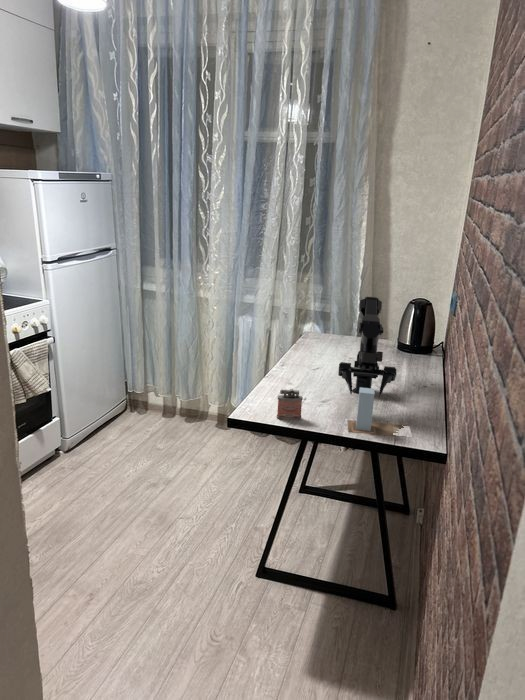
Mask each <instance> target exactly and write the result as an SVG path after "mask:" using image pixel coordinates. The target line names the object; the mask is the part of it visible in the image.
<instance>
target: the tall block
mask: <svg viewBox="0 0 525 700" xmlns="http://www.w3.org/2000/svg"><path fill="white" fill-rule="evenodd" d="M357 400H358V401H357V409H356V411H357V412H356V420H355V421H356V430H365V431H371V422H373V412H374V411H373V410H374V401H375V388H372V387H371V388H361V387H360V389H359V393H358V399H357Z"/></svg>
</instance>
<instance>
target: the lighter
mask: <svg viewBox="0 0 525 700" xmlns="http://www.w3.org/2000/svg"><path fill="white" fill-rule="evenodd" d="M279 391H280V392H279V395H278V396H277V414H276V419H277V420H279V421H300V420H302V405H303V396H302V395H300V390H297V389H296V390H294V389H293V388H290V389H280V390H279Z"/></svg>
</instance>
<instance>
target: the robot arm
mask: <svg viewBox="0 0 525 700" xmlns="http://www.w3.org/2000/svg"><path fill="white" fill-rule="evenodd" d="M382 304H383V302H382V301H381V300H379V297H376V296H365V297H364V298H362V299H361V300H359V306H358V307H359V309H358V312H359V313H360V319H361V321H360V322H359V326H358V334H360V336H361V337H360V345H359V350H358V353H357V355H356V360H354V364H353V366H352V362H346V361H345V362H344V361H342V362H339V364H338V374H337V375H338V376H339V377H341V379H343V380H345V382H346V384H347V386H348V387H347V388H348V391H349V394H350V395H352V393H357V394H359V389H360V387H361V388H371V389H372V384H373V379H375V380H376V379H377V378H378V377H379V376H381V382H380V387H379V393H378V398H381V397H382V394H383V391H384V388H386V385H387V384H391V382H394V381H395V380H396V377H397V372H398V371H397V368H396V366H388V365H384V366H383V369H380V366H379V364H378V363H379V362H380V363H382V362H383V354H384V352H383V351H378V343H379V340H380V339H379V338H380V336H381V335H382V334H384V327H383V325H382V323H381V318H379V316H380V315H379V314H381V313H382V306H383V305H382ZM352 377H354V378H356V379H355V381H356V382H355V388H353V382H352V381H353V380H352V379H353V378H352Z"/></svg>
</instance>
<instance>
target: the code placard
mask: <svg viewBox="0 0 525 700" xmlns="http://www.w3.org/2000/svg"><path fill="white" fill-rule="evenodd" d="M346 421H347V432H348V433H353V434H365V435H377V436H378V435H379V436H389V437H395V436H394V435H393V433H398V432H396V431H399V430H398V429H401V428H404V427H403V426H407V425H408V424H400V423H397V424H396V423H388V422H387V423H386V422H376V421H374V422H373V421H372V422H371V431H365V430H356V420H352V419H351V420H349V419H347V420H346ZM402 425H403V426H402Z"/></svg>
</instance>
